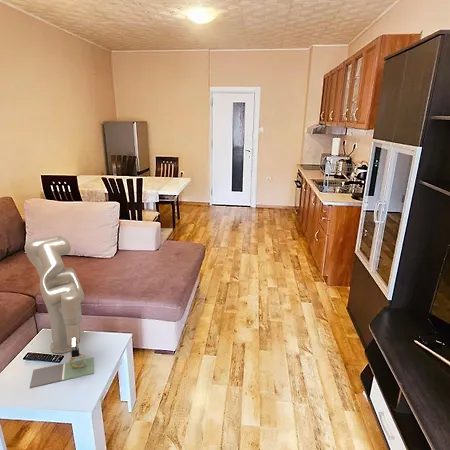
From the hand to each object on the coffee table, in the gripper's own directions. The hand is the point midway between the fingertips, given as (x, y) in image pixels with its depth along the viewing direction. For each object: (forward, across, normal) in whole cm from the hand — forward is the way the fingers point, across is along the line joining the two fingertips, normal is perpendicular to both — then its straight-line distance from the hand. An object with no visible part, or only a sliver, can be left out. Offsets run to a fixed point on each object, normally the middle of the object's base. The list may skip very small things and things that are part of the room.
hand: (76, 349), depth 151 cm
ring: (+10, +1, 0) cm, 10 cm away
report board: (+11, +1, -6) cm, 12 cm away
